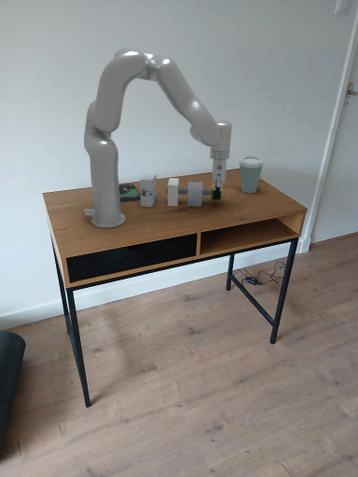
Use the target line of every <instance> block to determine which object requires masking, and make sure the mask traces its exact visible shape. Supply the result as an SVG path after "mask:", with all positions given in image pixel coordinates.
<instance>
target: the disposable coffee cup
mask: <svg viewBox="0 0 358 477" xmlns="http://www.w3.org/2000/svg"><path fill="white" fill-rule="evenodd" d="M238 162H239V163H238V164H239V174H240V185H241V186H240V188H241V191H242V192H243V193H245V194H254V193H256V192H257V189H258V185H259V181H260V177H261V173H262V169H263V166H264V161H263V159H262V158H261V157H259V156H256V155H245V156H242V157H241V159H240V160H239V161H238Z"/></svg>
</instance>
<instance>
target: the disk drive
mask: <svg viewBox="0 0 358 477" xmlns="http://www.w3.org/2000/svg"><path fill="white" fill-rule="evenodd" d="M119 193H120V203H124V202H136V201H141V194H140V192H139V191H138V189H137V188H136V186H135V184H134V183H123V184H119Z"/></svg>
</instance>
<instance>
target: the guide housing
mask: <svg viewBox="0 0 358 477" xmlns="http://www.w3.org/2000/svg"><path fill="white" fill-rule="evenodd" d="M203 183H204V182H202V181H188V182H187V189H188V194H186V195H187V198H186V201H187V202H186V206H187V207H201V208H202V206H203V195H202V191H203V189H204V187H203V186H204V184H203Z"/></svg>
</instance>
